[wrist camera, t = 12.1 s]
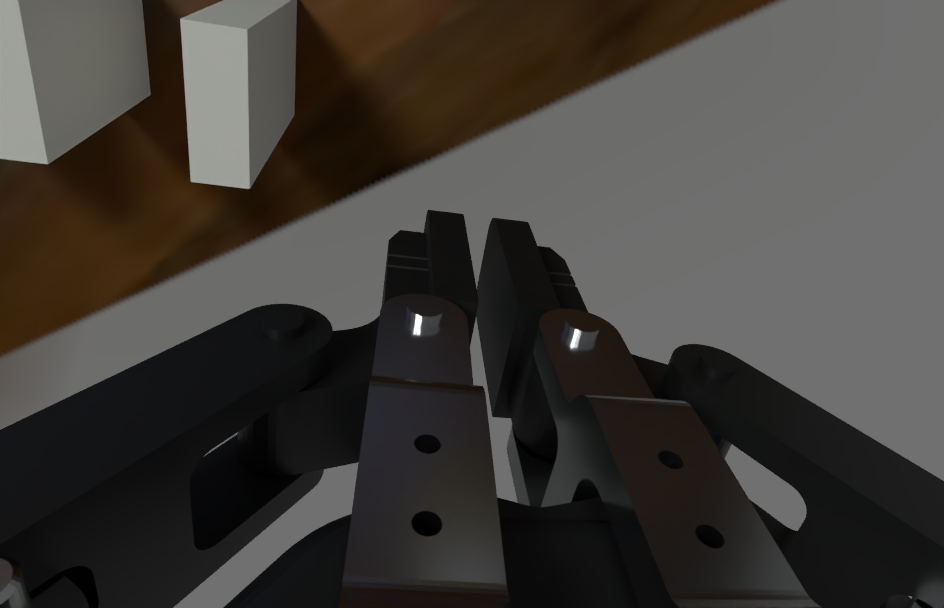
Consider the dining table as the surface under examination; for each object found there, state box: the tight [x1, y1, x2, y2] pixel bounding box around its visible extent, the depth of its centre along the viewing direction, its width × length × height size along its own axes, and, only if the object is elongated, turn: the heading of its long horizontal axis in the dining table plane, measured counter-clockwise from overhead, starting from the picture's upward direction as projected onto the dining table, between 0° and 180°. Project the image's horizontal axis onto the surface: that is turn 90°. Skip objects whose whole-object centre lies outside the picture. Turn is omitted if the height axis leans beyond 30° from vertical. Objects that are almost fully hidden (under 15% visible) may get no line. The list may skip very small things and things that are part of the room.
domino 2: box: [180, 0, 297, 189], centre depth 23 cm, size 2×5×9 cm, turn 170°
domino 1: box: [0, 0, 151, 164], centre depth 22 cm, size 2×5×9 cm, turn 171°
